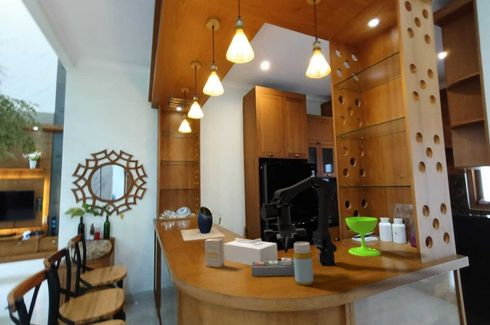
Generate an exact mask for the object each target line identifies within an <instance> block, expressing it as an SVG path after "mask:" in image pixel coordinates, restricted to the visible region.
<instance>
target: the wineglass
mask: <svg viewBox="0 0 490 325" xmlns="http://www.w3.org/2000/svg"><path fill="white" fill-rule="evenodd" d="M344 219H345V223H346V225H347V227H348V228H349V229H350V230H351V231H353V232H354V233H356V234H360V242H361V246H358V247H352V248H350V249H349V250H348V253H349V254H350V253H351V254H350V255H353V254H354V255H353V256H357V255H358V256H357V257H367V258H368V257H378V256H380V255H382V252H381V251H380V250H379V249H377V250H376V248H373V249H371V248H372V247H367V246H366V238H365V237H366V236H365V235H366V234H370V233H371V232H373V231H374V230H375V228H376V227H377V224H378V218H377V217H368V216H354V217H346V218H344ZM378 250H379V251H378ZM380 252H381V253H380Z"/></svg>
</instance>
